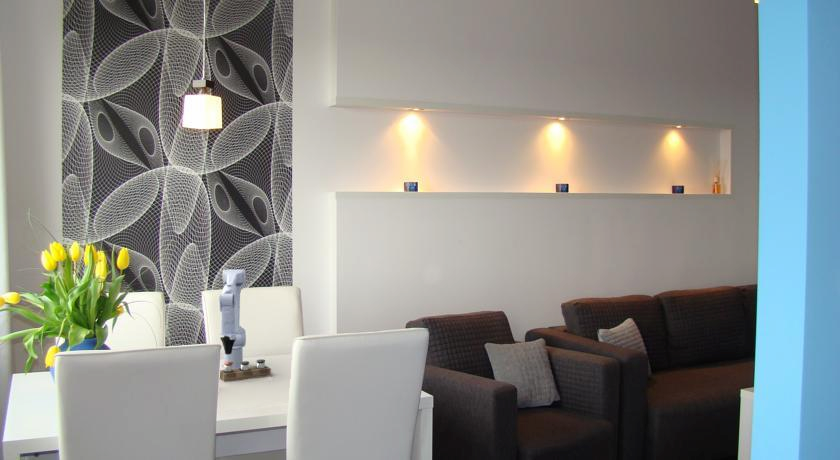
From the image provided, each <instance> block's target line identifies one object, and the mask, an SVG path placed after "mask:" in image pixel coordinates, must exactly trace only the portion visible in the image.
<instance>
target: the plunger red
mask: <svg viewBox="0 0 840 460" xmlns="http://www.w3.org/2000/svg"><path fill="white" fill-rule="evenodd" d="M232 364H233V362H225V361H224V362H223V365H225V367H224V370H225V373H230V372H233V369H232Z"/></svg>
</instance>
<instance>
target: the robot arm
mask: <svg viewBox="0 0 840 460" xmlns="http://www.w3.org/2000/svg"><path fill="white" fill-rule="evenodd" d="M246 273H247V271H246V269H244V268H243V269H225V268H224V269H223V271H222V274H221V275H222V276H221V277H222V284H223V287H222V288H223V289H222V293H221V294H219V297H218V304H219V312H220V335H221V336H222V337H220V341H221V343H222V344H221V345H222V347H223V349H224V355H223V356H224V363H225V362H233V364H232V369H236V368H241V362H243V361H244V360H243V359H244V357H243V354H244V353H243V352H244V351H243V348H244V347H246V343H247V342H246V341H247V337H246V336H247V335H246V330H245V328H244V327H243V326H241V325H240V312H241V311H240V310H241V292H242V290H244V289H245V288H246V280H247V279H246V278H247V274H246ZM222 367H223V368H225V365H224V364H222Z"/></svg>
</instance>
